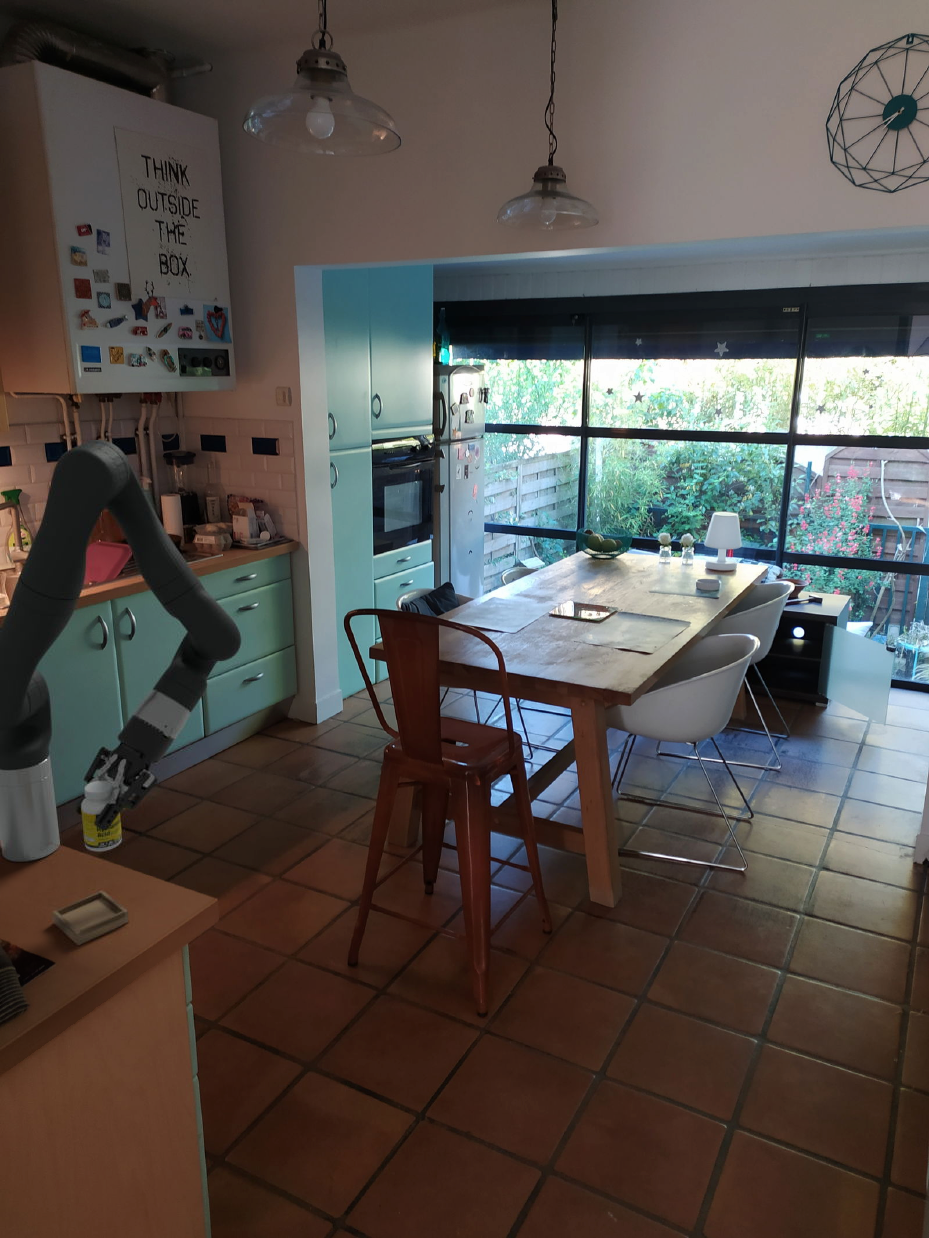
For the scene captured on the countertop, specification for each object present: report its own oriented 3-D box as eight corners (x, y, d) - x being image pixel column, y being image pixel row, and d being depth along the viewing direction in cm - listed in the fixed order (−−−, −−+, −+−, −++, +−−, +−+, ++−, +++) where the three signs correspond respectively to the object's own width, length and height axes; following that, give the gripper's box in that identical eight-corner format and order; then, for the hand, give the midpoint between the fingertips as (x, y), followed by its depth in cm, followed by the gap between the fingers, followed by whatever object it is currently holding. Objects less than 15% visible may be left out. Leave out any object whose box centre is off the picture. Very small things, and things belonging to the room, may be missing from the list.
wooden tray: (53, 922, 140) (52, 911, 139) (103, 901, 146) (102, 890, 145) (78, 945, 135) (76, 933, 134) (128, 921, 141) (127, 910, 140)
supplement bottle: (98, 856, 138) (92, 798, 135) (77, 844, 141) (71, 787, 138) (129, 841, 142) (124, 784, 139) (109, 830, 145) (103, 774, 142)
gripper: (114, 702, 146) (48, 795, 140) (163, 727, 137) (95, 828, 131) (147, 723, 151) (84, 814, 146) (196, 749, 142) (131, 846, 137)
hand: (89, 820), depth 139 cm, fingers closed on supplement bottle, 5 cm apart
